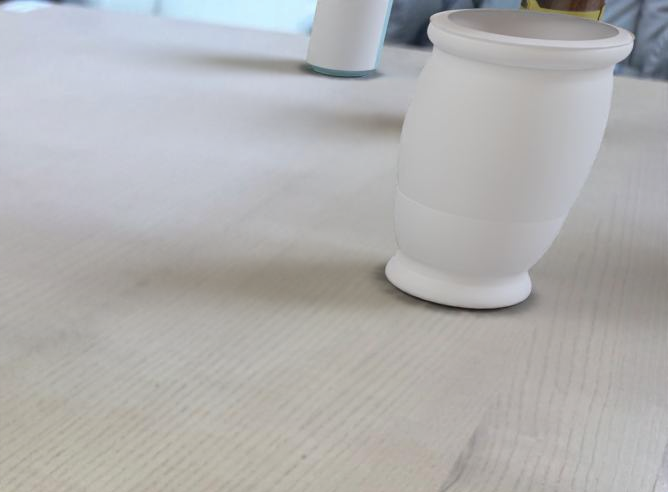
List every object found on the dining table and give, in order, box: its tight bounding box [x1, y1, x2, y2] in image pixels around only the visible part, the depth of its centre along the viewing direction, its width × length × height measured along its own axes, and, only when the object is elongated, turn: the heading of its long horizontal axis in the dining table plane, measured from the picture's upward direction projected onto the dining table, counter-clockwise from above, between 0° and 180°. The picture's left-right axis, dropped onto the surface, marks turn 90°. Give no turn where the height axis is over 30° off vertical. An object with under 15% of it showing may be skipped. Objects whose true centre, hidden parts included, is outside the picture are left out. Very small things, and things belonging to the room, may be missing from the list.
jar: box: [384, 7, 636, 309], centre depth 70 cm, size 11×10×15 cm
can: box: [305, 0, 394, 78], centre depth 118 cm, size 7×7×12 cm
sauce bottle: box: [518, 0, 606, 22], centre depth 98 cm, size 7×6×20 cm
